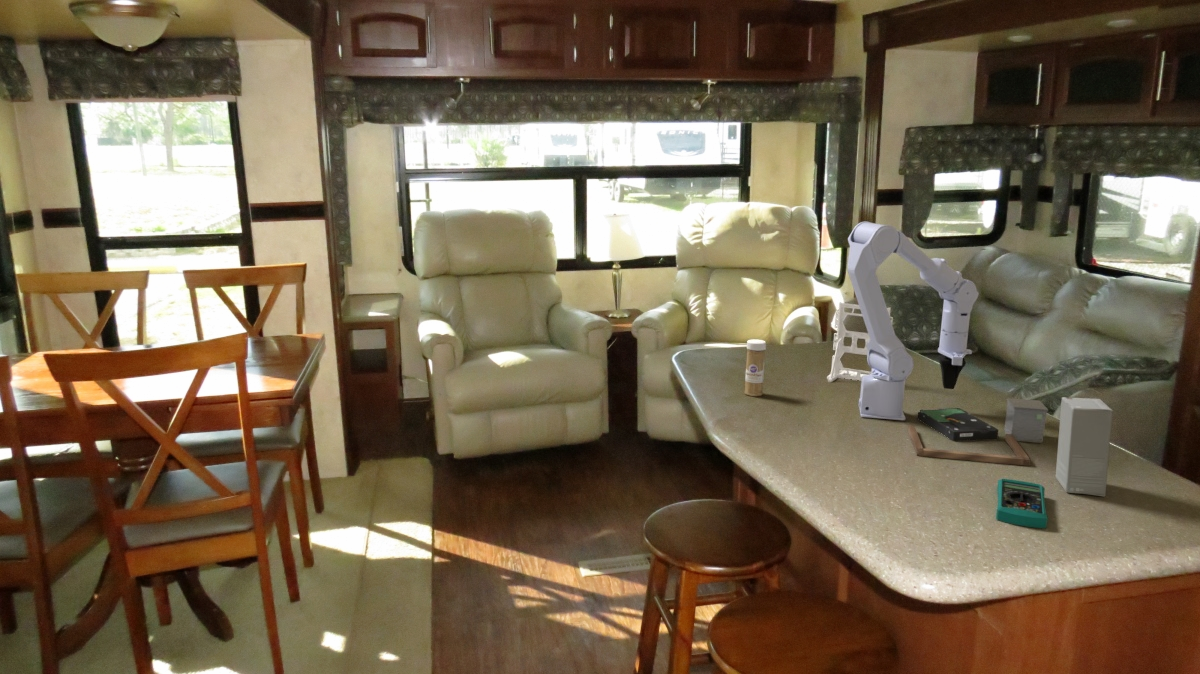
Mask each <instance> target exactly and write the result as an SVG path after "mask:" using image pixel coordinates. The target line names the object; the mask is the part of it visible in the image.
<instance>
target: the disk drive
mask: <svg viewBox="0 0 1200 674" xmlns="http://www.w3.org/2000/svg"><path fill="white" fill-rule="evenodd" d="M916 419H917V420H918V419H919V421H920V420H921V421H922V422H921V421H920V422H921V423H923V422H924V423H923V424H924V425H926V424H927V425H926V426H928V427H930V428H931V427H932V430H934V429H935V430H934V431H936V432H937V433H939V432H940V433H939V434H941V433H942V434H943V435H942V434H941V435H942V436H944V435H945V436H944V437H946V438H947V437H948V438H949V439H948V438H947V439H948V440H951V441H952V442H966V441H990V440H991V441H992V440H998V438H999V429H998V428H996V427H995V426H993V425H990V424H989V423H987V422H985V421H984V420H982V419H980V418H978V417H976V416H975V415H973V414H972V413H970V412H968V411H965V410H963V409H962V408H956V407H955V408H953V407H952V408H950V407H949V408H938V409H920V410H919V411H918V412H917V418H916Z"/></svg>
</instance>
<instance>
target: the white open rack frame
mask: <svg viewBox="0 0 1200 674" xmlns="http://www.w3.org/2000/svg"><path fill="white" fill-rule="evenodd" d="M845 308H846V309H852V310H851V312H847V311H845ZM856 309H857V310H860V307H859V304H854V303H843V302H839V305H838V310H835V318H834V319H835V320H834V328H835V329H837V330H836V332H835V333H833V342H832V343H833V347H832V350H833V351H835V353H834V354H833V355H832V358H831V371H830V373H829V375H827V376H826V380H827V382H828V383H832V382H834V381H835V380H837V379H838V378H839V379H844V378H845V379H846V380H850V379H852V380H851V381H857V380H859V381H858V382H861V381H862V376H863V375H872V373H871V371H867V370H864V369H863V370H862V369H855V368H848V367H844V365H843V363H842V361H841V358H842V357H843V355H844V354H845V353H847V354H848V353H849V354H856V355H862V356H863V355H865V356H867V355H868V349H867V346H866V344H867V343H868V342H869V341H870V337H869V334H868V332H859V331H852V330H847V328H846V327H845V324H844V322H845V320H846V318H847V317H848V316H856V317H863V316H862V313H856V312H855V310H856ZM887 310H888V313H889V316H890V320H891V323H892V324H893V320H894V317H893V316H891V310H892V309H891V307H887ZM854 312H855V313H854ZM845 337H846V338H851V345H849V346H847V345H845V343H844V341H845ZM858 339H861V340H862V339H863V340H864V341H865V343H864V344H865V345H864V348H862V347H858V344H857V343H858V341H859V340H858Z"/></svg>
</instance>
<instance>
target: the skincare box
mask: <svg viewBox="0 0 1200 674" xmlns="http://www.w3.org/2000/svg"><path fill="white" fill-rule="evenodd" d="M1060 403H1061V404H1060V416H1059V430H1058V431H1059V432H1058V442H1057V453H1056V454H1057V455H1056V465H1055V467H1056V468H1055V475H1054V476H1055V479H1056V480H1057V481H1058V482H1059V484H1060V486H1061V487H1062V488H1063V490H1064V491H1065V492H1066V493H1069V494H1070V493H1071V494H1082V495H1089V496H1097V497H1105V496H1106V494H1107V493H1106V491H1107V479H1108V468H1109V467H1108V465H1109V455H1110V444H1111V443H1110V441H1111V431H1112V423H1113V422H1112V421H1113V420H1112V419H1113V412H1114V410H1113V409H1112V408H1110V407H1109V406H1108V404H1106V403H1105V402H1104V401H1103V400H1102V399H1101V398H1089V397H1087V398H1085V397H1083V398H1081V397H1067V396H1066V397H1065V396H1062V397H1061V402H1060Z"/></svg>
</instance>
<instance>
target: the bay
mask: <svg viewBox="0 0 1200 674" xmlns="http://www.w3.org/2000/svg"><path fill="white" fill-rule="evenodd" d="M907 427H908V428H907V432H908V434H909V437H910V440H911V443H912V446H913V448H914V449H913V450H914V452H915V454H916V456H919V457H926V458H927V457H929V458H938V459H940V458H941V459H947V460H948V459H949V460H950V459H951V460H961V461H971V462H972V461H973V462H981V463H983V462H984V463H992V464H993V463H994V464H1004V465H1005V464H1006V465H1015V466H1026V467H1030V465H1031V458H1030V456H1028V455H1027V453H1026V452H1025V450H1024V449H1023V448H1022V446H1021V445H1020V444H1019V441H1016V439H1015V438H1014V436H1013V435H1011V434H1006V433H1005V437H1004V440H1005V442H1006V443H1007V444H1008V446H1009V447H1010V448H1011V450H1012V451H1013V453H1014V455H1015V456H1014V455H1013V456H1012V455H1011V456H1010V455H1003V454H1001V455H1000V454H991V453H990V454H989V453H981V452H980V453H979V452H978V453H977V452H968V451H958V450H957V451H955V450H945V449H933V448H924V447H923V445H922V442H921V440H920V437H919V435H918V432H917V429H916V426H915V425H908V426H907Z"/></svg>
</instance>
